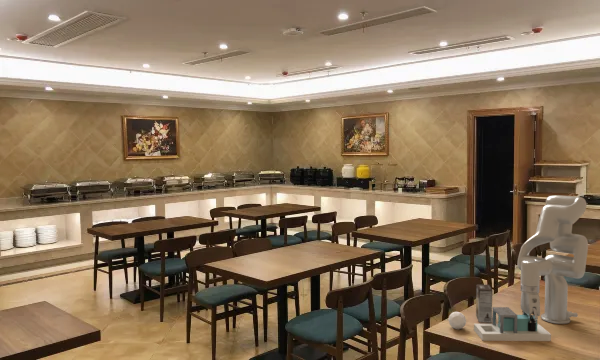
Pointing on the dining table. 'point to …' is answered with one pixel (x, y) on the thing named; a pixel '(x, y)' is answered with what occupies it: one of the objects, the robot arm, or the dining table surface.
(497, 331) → the white base plate
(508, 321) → the block
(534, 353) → the dining table surface
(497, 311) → the tunnel
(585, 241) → the robot arm
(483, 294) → the coffee box
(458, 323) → the geometric ball
